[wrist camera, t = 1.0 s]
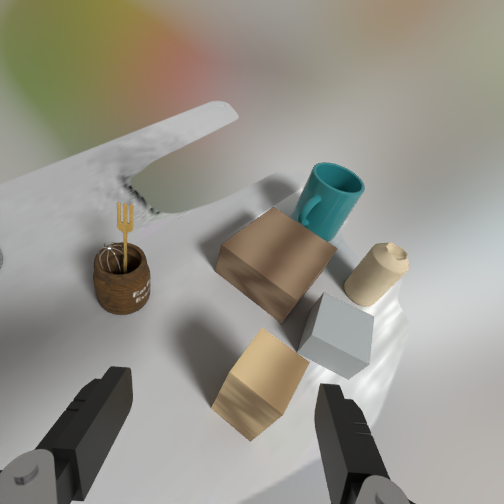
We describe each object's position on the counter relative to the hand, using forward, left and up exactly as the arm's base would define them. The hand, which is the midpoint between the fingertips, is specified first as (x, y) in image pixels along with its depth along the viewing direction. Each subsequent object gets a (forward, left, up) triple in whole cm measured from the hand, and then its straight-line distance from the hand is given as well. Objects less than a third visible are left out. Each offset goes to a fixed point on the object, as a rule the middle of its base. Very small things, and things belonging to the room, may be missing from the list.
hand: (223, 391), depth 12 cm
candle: (+8, +32, -20) cm, 39 cm away
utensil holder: (-17, +8, -20) cm, 28 cm away
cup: (-5, +39, -20) cm, 44 cm away
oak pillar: (+2, +7, -20) cm, 21 cm away
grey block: (+7, +20, -20) cm, 29 cm away
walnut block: (-5, +25, -20) cm, 33 cm away
